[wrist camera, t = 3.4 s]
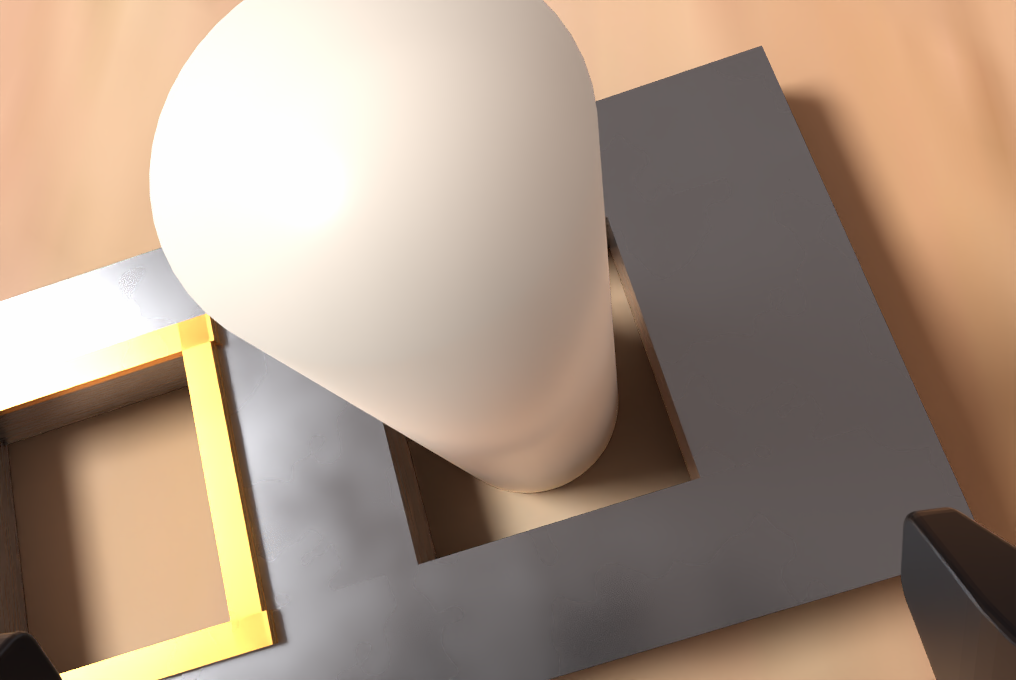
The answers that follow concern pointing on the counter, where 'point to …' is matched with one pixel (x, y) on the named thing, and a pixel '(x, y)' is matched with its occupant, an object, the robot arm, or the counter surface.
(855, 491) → the grey flat block
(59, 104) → the counter surface
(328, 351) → the cream peg
